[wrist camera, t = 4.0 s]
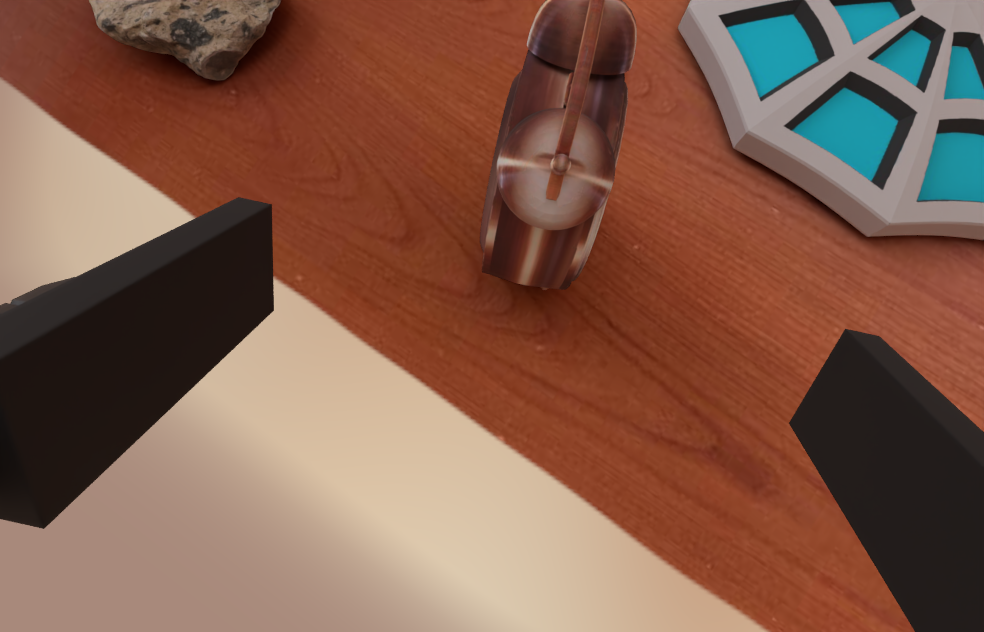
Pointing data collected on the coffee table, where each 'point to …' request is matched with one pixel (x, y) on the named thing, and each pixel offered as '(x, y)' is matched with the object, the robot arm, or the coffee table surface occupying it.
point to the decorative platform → (856, 103)
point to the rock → (188, 29)
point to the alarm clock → (558, 143)
